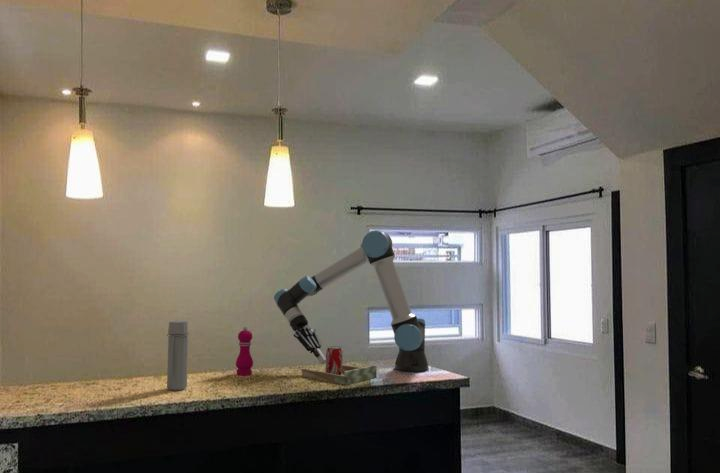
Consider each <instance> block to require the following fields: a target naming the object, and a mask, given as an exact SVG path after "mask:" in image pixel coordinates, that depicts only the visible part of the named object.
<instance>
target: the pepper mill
mask: <svg viewBox="0 0 720 473" xmlns="http://www.w3.org/2000/svg"><path fill="white" fill-rule="evenodd" d="M237 338H238V341H239V342H238V343H239V344H238V346H239V353H238V356H237V358H236V361H235V366H236V368H237V369H236V375H237V376H243V377H245V376H250V375H252V373H253V370H252V367H253V366H254V360H253V358H252V354H251V352H250V346H251V345H252V344H251V343H252V342H251V340H252V339H253V333H252V332H251V331H250V330H248V327H247V326H244V327H243V328H242V330H240V331H239V332H238V335H237Z"/></svg>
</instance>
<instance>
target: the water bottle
mask: <svg viewBox="0 0 720 473" xmlns="http://www.w3.org/2000/svg"><path fill="white" fill-rule="evenodd" d="M188 325H189V324H188V320H171V321H169V322H168V329H167V334H166V337H168V341H167V342H168V343H167V346H168V347H167V350H168V351H167V371H166V372H167V377H166V388H167V389H168V390H169V391H174V392H175V391H176V392H178V391H183V390H186V389H187V387H188V361H189V359H188V358H189V356H188V353H189V335H190V333H189V326H188Z"/></svg>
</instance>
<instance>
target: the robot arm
mask: <svg viewBox="0 0 720 473" xmlns="http://www.w3.org/2000/svg"><path fill="white" fill-rule="evenodd" d="M361 242H362V243H361V244H360V246H359V248H358V249H355V250H354V251H352V252H351V253H349V254H347V255H346V256H344V257H342V258H340V260H337V261H336V262H334V263H333V264H330V265H329V266H328V267H326V268H325V269H323V270H321V271H320V272H319V271H318V273H316V274H315V275H313V276H311V277H310V276H309V275H305V276H303V277H302V278H300V279H299V280H298V281H297V282H296V283H294V285H293V286H292V287H290V288H289V289H286V288H283V289H280V290H278V291H277V292H276V293H275V294H274V296H273V299H274V302H275V304H276V306H277V307H278V309H279V310H280V311H281V313H282V315H283V317H284V318H285V320H286V321H287V322H288V323H289V326H290V327H291V329H292V331H293V332H295V333H294V334H292V335H293V337H294V338H295V339H297V340H298V341H299V343H300V344H301V345H302V346H303V347H304V348H305V350H306V351H307V352H310V354H312V353H313V355H314V356H315V357H316V359H317V360H318V362H319V364H320V365H324V364H326V356H325V355H324V353H323V351H322V350H321V348H322V346H323V344H322V343H321V340H320V338H319V335H318V333H317V329H316V328H314V329H312V328H311V326H310V325H309V324H308V323H309V321H308V319H307V317H306V316H305V315H304V312H303V311H302V310H301V308H300V306H298V304H300V303H301V302H302V301H303V300H304V299H306V298H307V297H313V296H315V295H317V294H318V293H319V292H320V291H322V290H324V289H325V288H327V287H329V286H330V285H332V284H334V283H335V282H337V281H338V280H340V279H342V278H344V277H346V276H347V275H349V274H350V273H352V272H353V271H355V270H357V269H359V268H361V267H362V266H363V265H366V264H367V263H369V265H370V266H371V267H373V268H374V269H375V273H376V275H377V277H378V281H379V284H380V288H381V289H382V292H383V295H384V296H383V297H384V298H385V300H386V303H387V304H386V305H387V306H388V309H389V312H390V314H391V319H392V321H391V323H390V326H391V328H392V332H393V336H394V337H393V338H394V342H395V344H396V346H397V347H398V353H397V357H396V360H395V363H394V369H395V370H396V371H401V372H413V373H414V372H415V373H416V372H425V371H428V370H429V362H428V360H427V356H426V355H427V354H426V352H425V350H426V349H425V346H426V345H425V344H426V342H425V341H426V339H425V337H426V329H425V328H426V320H425V319H424V318H420V317H417V315H416V314H414V313H412V311H411V308H410V305H409V303H408V302H409V301H408V299H407V297H406V294H405V291H404V289H403V285H402V282H401V280H400V277H399V274H398V272H397V271H398V270H397V268H396V265H395V262H394V259H395V257H396V255H395V252H394V249H393V240H392V238H391V237H390V235H389V234H388V233H386V232H384V231H382V230H371V231H369V232H367V233H366V234H365V235H364V237H363V238H362V241H361Z"/></svg>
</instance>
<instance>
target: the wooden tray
mask: <svg viewBox="0 0 720 473" xmlns="http://www.w3.org/2000/svg"><path fill="white" fill-rule="evenodd" d="M377 368H378V367H377V365H376V364H374V365H368V366H364V367H358V366H354V365H352V366H351V365H346V364H342V373H344V374H341V375H336V374H330V373H326V372H323V371H317V370H311V369H305V368H302V369H301V377H304V378H307V377H308V378H307V379H313V380H320V381H324V382H325V381H326V382H330V383H336V384H340V385H341V384H342V385H350V384H355V383H358V382H364V381H367V380H371V379H375V378H377V374H378V373H377V370H378V369H377Z"/></svg>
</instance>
